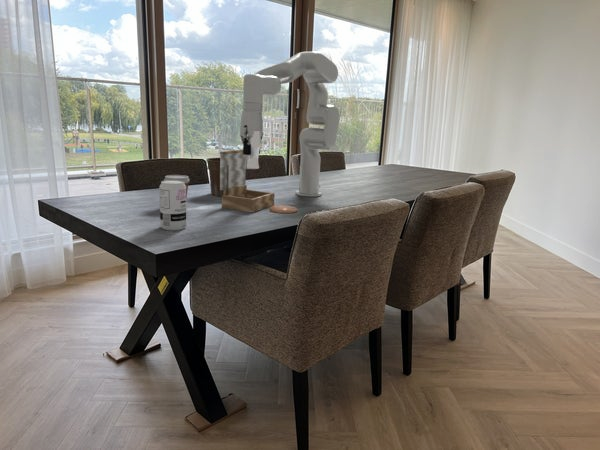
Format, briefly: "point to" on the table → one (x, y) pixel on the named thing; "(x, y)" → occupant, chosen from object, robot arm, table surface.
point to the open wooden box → (239, 185)
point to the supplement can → (172, 205)
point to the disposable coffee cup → (179, 179)
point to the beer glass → (253, 151)
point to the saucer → (283, 209)
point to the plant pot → (215, 176)
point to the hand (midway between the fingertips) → (251, 153)
